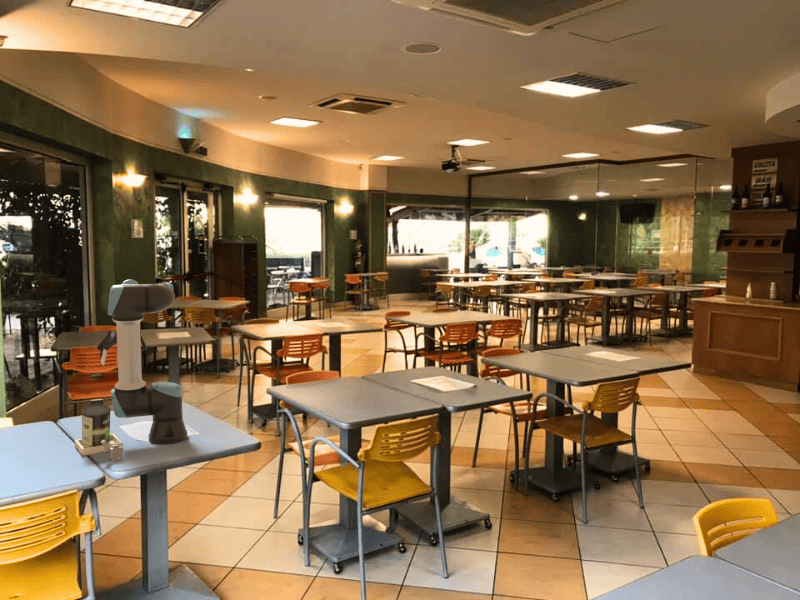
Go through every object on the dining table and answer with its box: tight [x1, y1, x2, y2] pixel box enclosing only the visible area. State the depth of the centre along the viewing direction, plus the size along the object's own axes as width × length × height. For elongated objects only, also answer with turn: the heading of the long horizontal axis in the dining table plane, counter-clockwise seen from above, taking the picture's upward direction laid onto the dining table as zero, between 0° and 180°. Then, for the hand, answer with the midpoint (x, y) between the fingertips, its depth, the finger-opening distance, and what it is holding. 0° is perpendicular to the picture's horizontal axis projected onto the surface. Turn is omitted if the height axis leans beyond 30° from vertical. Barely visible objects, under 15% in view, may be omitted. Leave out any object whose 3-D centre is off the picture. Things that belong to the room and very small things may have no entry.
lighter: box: [101, 440, 123, 461], centre depth 250 cm, size 7×2×8 cm, turn 129°
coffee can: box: [81, 403, 111, 448], centre depth 264 cm, size 10×10×14 cm
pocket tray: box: [74, 433, 124, 456], centre depth 264 cm, size 15×15×3 cm
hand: (119, 363), depth 286 cm, fingers open, 13 cm apart
